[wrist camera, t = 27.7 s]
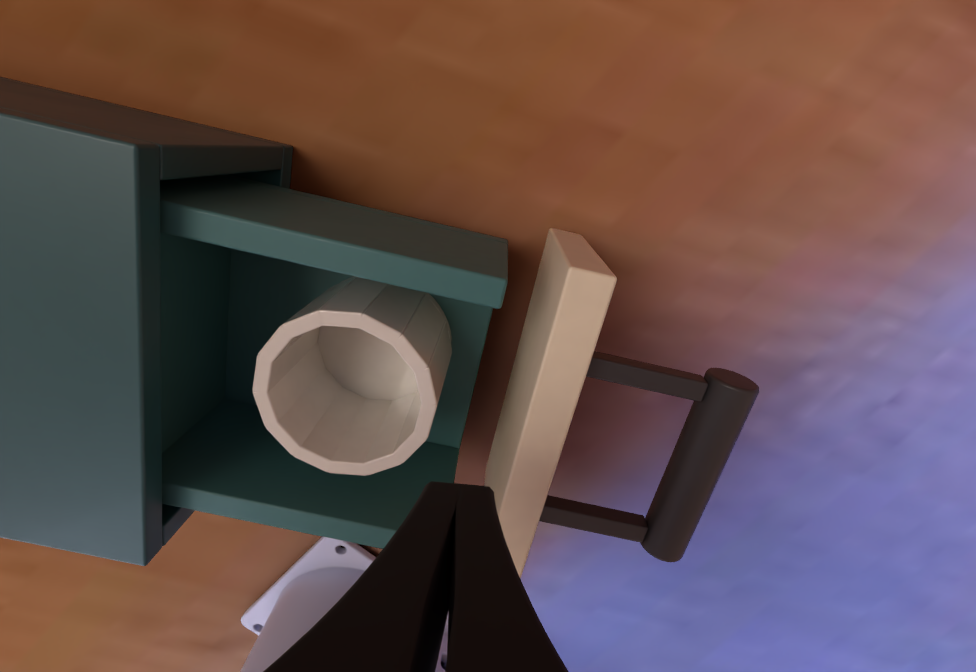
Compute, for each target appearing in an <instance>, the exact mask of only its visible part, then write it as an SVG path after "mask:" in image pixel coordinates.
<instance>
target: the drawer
mask: <svg viewBox="0 0 976 672" xmlns="http://www.w3.org/2000/svg"><path fill="white" fill-rule="evenodd" d="M351 276H355V277H359V278H364V279H368V280H373V281H377V282H381V283H386V284H390V285H395V286H399V287H403V288H408V289H412V290H417V291H421V292H425V293H429V294H430V295H431V296H432V297H433V298H434V299H435V300H436V302H437V303H438V304H439V305H440V307H441V309H442V310H443V312H444V314H445V316H446V318H447V320H448V323H449V327H450V330H451V336H452V355H451V359H450V362H449V366H448V369H447V373H446V377H445V380H444V384H443V387H442V391H441V394H440V398H439V402H438V405H437V409H436V412H435V416H434V419H433V422H432V426H431V429H430V433H429V436H428V438H427V440H426V441H425V442H424V443H423V444H422V445H421V446H420V447H419V448H418V449H417V450H416V451H415V452H414V453H413V454H412V455H411V456H410V457H409V458H408V459H407V460H406V461H405V462H404V463H402V464H401V465H398V466H395V467H392V468H389V469H386V470H383V471H380V472H377V473H374V474H371V475H366V476H362V475H348V474H335V473H329V472H325V471H323V470H321V469H319V468H317V467H314V466H312V465H310V464H308V463H306V462H304V461H302V460H300V459H297V458H295V457H294V456H293V455H291V454H290V453H289V452H288V451H287V450H286V449H285V448H284V447H283V446H282V445H281V444H280V443H279V442H278V441H277V440H276V438H275V437H274V436H273V435H272V434H271V433H270V432H269V431H268V430H267V429H266V427H265V426H264V423H263V421H262V418H261V415H260V412H259V410H258V407H257V404H256V401H255V398H254V396H253V391H252V388H253V381H254V374H255V366H256V359H257V355H258V353H259V351H260V350H261V349H262V348H263V346H264V345H265V344H266V343H267V341H268V340H269V339H270V338H271V336H272V335H273V334H274V333H275V331H276V330H277V329H278V328H279V326H280V325H282V324H283V323H284V322H286V321H287V320H288V319H289V318H291V317H292V316H293V315H295V314H296V313H297V312H299V311H300V310H301V309H302V308H304V307H305V306H306V305H308V304H309V303H310V302H311V301H313V300H314V299H315V298H317V297H318V296H319V295H320V294H322V293H323V292H324V291H326V290H327V289H328V288H330V287H331V286H333V285H336V284H338V283H339V282H341V281H343V280H344V279H347V278H349V277H351ZM160 281H161V426H162V504H167V505H172V506H177V507H182V508H186V509H191V510H196V511H201V512H206V513H211V514H216V515H220V516H225V517H230V518H235V519H240V520H245V521H250V522H254V523H259V524H264V525H269V526H274V527H279V528H284V529H288V530H293V531H298V532H303V533H308V534H313V535H318V536H323V537H327V538H332V539H337V540H342V541H347V542H352V543H357V544H361V545H366V546H371V547H376V548H381V549H383V548H384V547H385V546H386V544H387V543H388V542H389V540H390V539H391V538H392V536H393V535H394V534H395V532H396V531H397V530H398V528H399V527H400V526H401V524H402V523H403V521H404V520H405V518H406V517H407V515H408V514H409V512H410V511H411V509H412V508H413V506H414V505H415V503H416V501H417V500H418V498H419V496H420V495H421V493H422V491H423V489H424V487H425V485H427V484H428V483H429V482H431V481H434V482H445V483H454V479H455V473H456V467H457V461H458V455H459V449H460V445H461V441H462V436H463V432H464V428H465V424H466V420H467V416H468V411H469V407H470V403H471V399H472V395H473V391H474V386H475V382H476V378H477V374H478V370H479V365H480V361H481V357H482V353H483V349H484V345H485V340H486V336H487V332H488V328H489V324H490V319H491V315H492V311H493V308H496V309H500V308H501V307H502V304H503V300H504V295H505V291H506V287H507V283H508V240H506V239H503V238H498V237H494V236H490V235H486V234H481V233H477V232H473V231H468V230H464V229H460V228H456V227H451V226H447V225H443V224H438V223H434V222H430V221H425V220H421V219H417V218H413V217H408V216H404V215H400V214H395V213H391V212H387V211H383V210H378V209H374V208H370V207H365V206H361V205H357V204H352V203H348V202H344V201H340V200H335V199H331V198H327V197H322V196H318V195H314V194H310V193H305V192H301V191H297V190H292V189H288V188H284V187H279V186H275V185H271V184H267V183H262V182H258V181H254V180H249V179H245V178H241V177H237V176H232V175H228V174H226V175H215V176H204V177H193V178H183V179H172V180H161V181H160ZM616 282H617V277H616V276H615V275H614V273H613V272H612V271H611V270H610V269H609V267H608V266H607V265H606V264H605V263H604V261H603V260H602V259H601V258H600V257H599V255H598V254H597V253H596V252H595V251H594V249H593V248H592V247H591V246H590V245H589V243H588V242H587V241H586V240H585V239H584V237H583V236H582V235H581V234H576V233H572V232H568V231H564V230H559V229H555V228H550V229H549V232H548V236H547V239H546V243H545V247H544V251H543V254H542V258H541V262H540V266H539V270H538V273H537V277H536V281H535V285H534V288H533V292H532V296H531V300H530V304H529V307H528V311H527V315H526V319H525V322H524V326H523V330H522V334H521V337H520V341H519V345H518V349H517V353H516V356H515V360H514V364H513V368H512V371H511V375H510V379H509V383H508V386H507V390H506V394H505V398H504V402H503V405H502V409H501V413H500V417H499V420H498V424H497V428H496V432H495V435H494V439H493V443H492V447H491V451H490V454H489V458H488V462H487V466H486V470H485V483H484V486H489V487H490V488H491V489H492V490H493V491H494V497H495V504H496V509H497V513H498V517H499V521H500V524H501V528H502V531H503V534H504V537H505V540H506V543H507V546H508V549H509V551H510V554H511V557H512V559H513V562H514V565H515V567H516V570H517V572H518V575H519V577H520V578H521V575H522V572H523V569H524V566H525V563H526V560H527V556H528V553H529V550H530V547H531V544H532V541H533V538H534V535H535V532H536V529H537V526H538V523H539V521H542V522H546V523H551V524H556V525H561V526H565V527H570V528H575V529H580V530H584V531H589V532H594V533H599V534H603V535H608V536H613V537H618V538H622V539H627V540H632V541H637V542H640V543H641V545H642V547H643V548H644V549H645V550H646V551H647V552H648V553H649V554H651V555H652V556H654V557H655V558H657V559H660V560H662V561H666V562H676V561H678V560H680V559H681V558H682V556H683V554H684V552H685V550H686V548H687V546H688V544H689V541H690V539H691V537H692V535H693V533H694V531H695V529H696V526H697V524H698V522H699V520H700V518H701V516H702V513H703V511H704V509H705V507H706V505H707V503H708V501H709V498H710V496H711V494H712V492H713V490H714V488H715V485H716V483H717V481H718V479H719V477H720V475H721V473H722V470H723V468H724V466H725V464H726V462H727V460H728V458H729V455H730V453H731V451H732V449H733V447H734V445H735V442H736V440H737V438H738V436H739V434H740V432H741V430H742V427H743V425H744V423H745V421H746V419H747V417H748V414H749V412H750V410H751V408H752V406H753V404H754V402H755V399H756V397H757V395H758V393H759V387H758V386H757V385H756V384H755V383H754V382H753V381H751V380H750V379H748V378H746V377H745V376H742V375H740V374H738V373H735V372H733V371H729V370H726V369H721V368H710V369H708V370H707V371H706V373H705V376H704V378H703V376H701V375H698V374H693V373H689V372H684V371H680V370H676V369H671V368H667V367H662V366H658V365H653V364H649V363H644V362H640V361H636V360H631V359H627V358H622V357H618V356H613V355H609V354H605V353H600V352H596V351H594V350H595V347H596V344H597V341H598V337H599V334H600V331H601V328H602V325H603V322H604V319H605V316H606V313H607V310H608V307H609V304H610V300H611V297H612V294H613V291H614V288H615V285H616ZM586 376H587V377H592V378H596V379H601V380H605V381H610V382H614V383H619V384H623V385H628V386H632V387H637V388H641V389H645V390H650V391H654V392H659V393H663V394H668V395H672V396H677V397H681V398H686V399H690V400H694V402H693V405H692V407H691V409H690V412H689V414H688V417H687V419H686V421H685V424H684V426H683V429H682V431H681V433H680V436H679V438H678V441H677V443H676V445H675V448H674V450H673V453H672V455H671V457H670V460H669V462H668V465H667V467H666V469H665V472H664V474H663V477H662V479H661V481H660V484H659V486H658V489H657V491H656V493H655V496H654V498H653V501H652V503H651V505H650V508H649V510H648V513H647V515H646V517H645V518H644V516H643V515H638V514H634V513H629V512H624V511H620V510H615V509H610V508H605V507H601V506H596V505H591V504H587V503H582V502H577V501H573V500H568V499H563V498H558V497H554V496H549V495H548V492H549V489H550V486H551V482H552V479H553V476H554V473H555V470H556V467H557V464H558V461H559V458H560V455H561V452H562V449H563V445H564V442H565V439H566V436H567V433H568V430H569V427H570V424H571V421H572V418H573V415H574V411H575V408H576V405H577V402H578V399H579V396H580V393H581V390H582V387H583V384H584V381H585V378H586Z"/></svg>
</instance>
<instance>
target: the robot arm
mask: <svg viewBox="0 0 976 672" xmlns="http://www.w3.org/2000/svg"><path fill="white" fill-rule="evenodd" d="M340 546H344V547H345V548H341V547H340ZM241 622H242V624H243V625H244V626H245V627H246V628H248V629H249V630H251V631H252V632H254V633H256V634H257V635H259V636H258V638H257V640H256V642H255V644H254V646H253V648H252V650H251V651H250V653H249V655H248V657H247V659H246V661H245V663H244V665H243V667H242V669H241V671H240V672H568V670H567V668H566V667H565V665H564V663H563V662H562V660H561V658H560V657H559V655H558V653H557V652H556V650H555V648H554V646H553V644H552V642H551V641H550V639H549V637H548V635H547V633H546V632H545V630H544V628H543V626H542V624H541V622H540V620H539V618H538V616H537V614H536V612H535V610H534V608H533V606H532V604H531V602H530V599H529V597H528V595H527V593H526V591H525V589H524V586H523V584H522V582H521V579H520V577H519V575H518V572H517V570H516V567H515V565H514V562H513V559H512V557H511V554H510V551H509V549H508V546H507V543H506V540H505V537H504V534H503V531H502V528H501V524H500V521H499V517H498V513H497V509H496V504H495V497H494V491H493V490H492V489H491V488H490V487H489V486H478V485H467V484H456V483H445V482H434V481H431V482H429V483H428V484H427V485H425V487H424V489H423V491H422V493H421V495H420V496H419V498H418V500H417V501H416V503H415V505H414V506H413V508H412V509H411V511H410V512H409V514H408V515H407V517H406V518H405V520H404V521H403V523H402V524H401V526H400V527H399V528H398V530H397V531H396V532H395V534H394V535H393V536H392V538H391V539H390V540H389V542H388V543H387V544H386V546H385V547H384V548H383V550H382V551H381V552H380V554H379V555H378V556H377V557H375V556H373V555H372V554H371V553H369V552H368V551H366V550H365V549H364V548H362V547H361V546H359V545H358V544H357V543H352V542H347V541H342V540H337V539H332V538H327V537H323V536H322V537H321V538H320V539H319V540H318V541H317V542H316V543H315V544H314V545H313V546H312V547H311V548H310V549H309V550H308V551H307V552H306V553H305V554H304V555H303V556H302V557H301V558H300V559H299V560H298V561H296V562H295V563H294V564H293V565H292V566H291V567H290V568H289V569H288V570H287V571H286V572H285V573H284V574H283V575H282V576H281V577H280V578H279V579H278V580H277V581H276V582H275V583H274V584H273V585H272V586H271V587H270V588H269V589H268V590H267V591H266V592H265V593H264V594H263V595H261V596H260V597H259V598H258V599H257V600H256V601H255V602H254V603H253V604H252V605H251V606H250V607H249V608H248V609H247V610H246V611H245V613H244V614H243V616H242V618H241Z"/></svg>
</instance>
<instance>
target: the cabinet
mask: <svg viewBox="0 0 976 672" xmlns="http://www.w3.org/2000/svg"><path fill="white" fill-rule="evenodd" d="M292 153H293V146H291V145H287V144H283V143H278V142H274V141H270V140H266V139H262V138H257V137H253V136H249V135H245V134H240V133H236V132H232V131H228V130H223V129H219V128H215V127H211V126H207V125H202V124H198V123H194V122H190V121H185V120H181V119H177V118H173V117H168V116H164V115H160V114H156V113H152V112H147V111H143V110H139V109H135V108H130V107H126V106H122V105H118V104H113V103H109V102H105V101H101V100H97V99H92V98H88V97H84V96H80V95H75V94H71V93H67V92H63V91H58V90H54V89H50V88H46V87H42V86H37V85H33V84H29V83H25V82H20V81H16V80H12V79H8V78H3V77H0V537H2V538H7V539H12V540H17V541H22V542H27V543H32V544H37V545H42V546H47V547H52V548H57V549H62V550H67V551H72V552H77V553H81V554H86V555H91V556H96V557H101V558H106V559H111V560H116V561H121V562H126V563H131V564H136V565H141V566H146V565H147V564H148V563H149V562H150V561H151V559H152V558H153V557H154V556H155V555H156V554H157V553H158V551H159V550H160V549H161V548H162V546H164V545H165V544H166V543H167V542H168V541H169V540H170V538H171V537H172V536H173V535H174V534H175V533H176V531H177V530H178V529H179V528H180V527H181V526H182V525H183V523H184V522H185V521H186V520H187V519H188V518H189V516H190V515H191V514H192V513H193V512H194V511H195V510H191V509H186V508H182V507H177V506H172V505H167V504H162V426H161V281H160V181H161V180H172V179H183V178H193V177H204V176H215V175H226V174H228V175H232V176H237V177H241V178H245V179H249V180H254V181H258V182H262V183H267V184H271V185H275V186H279V187H284V188H288V189H290V178H291V165H292Z"/></svg>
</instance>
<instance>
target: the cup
mask: <svg viewBox="0 0 976 672" xmlns="http://www.w3.org/2000/svg"><path fill="white" fill-rule="evenodd" d="M451 355H452V336H451V330H450V327H449V323H448V320H447V318H446V316H445V314H444V312H443V310H442V309H441V307H440V305H439V304H438V303H437V302H436V300H435V299H434V298H433V297H432V296H431V295H430V294H429V293H425V292H421V291H417V290H412V289H408V288H403V287H399V286H395V285H390V284H386V283H381V282H377V281H373V280H368V279H364V278H359V277H355V276H351V277H349V278H347V279H344V280H343V281H341V282H339V283H338V284H336V285H333V286H331V287H330V288H328V289H327V290H326V291H324V292H323V293H322V294H320V295H319V296H318V297H317V298H315V299H314V300H313V301H311V302H310V303H309V304H308V305H306V306H305V307H304V308H302V309H301V310H300V311H299V312H297V313H296V314H295V315H293V316H292V317H291V318H289V319H288V320H287V321H286V322H284V323H283V324H282V325H280V326H279V328H278V329H277V330H276V331H275V333H274V334H273V335H272V336H271V338H270V339H269V340H268V341H267V343H266V344H265V345H264V346H263V348H262V349H261V350H260V351H259V353H258V355H257V359H256V366H255V374H254V381H253V388H252V391H253V396H254V398H255V401H256V404H257V407H258V410H259V412H260V415H261V418H262V421H263V423H264V426H265V427H266V429H267V430H268V431H269V432H270V433H271V434H272V435H273V436H274V437H275V438H276V440H277V441H278V442H279V443H280V444H281V445H282V446H283V447H284V448H285V449H286V450H287V451H288V452H289V453H290V454H291V455H293V456H294V457H295V458H297V459H300V460H302V461H304V462H306V463H308V464H310V465H312V466H314V467H317V468H319V469H321V470H323V471H325V472H329V473H335V474H348V475H362V476H366V475H371V474H374V473H377V472H380V471H383V470H386V469H389V468H392V467H395V466H398V465H401V464H402V463H404V462H405V461H406V460H407V459H408V458H409V457H410V456H411V455H412V454H413V453H414V452H415V451H416V450H417V449H418V448H419V447H420V446H421V445H422V444H423V443H424V442H425V441H426V440H427V438H428V436H429V433H430V429H431V426H432V422H433V419H434V416H435V412H436V409H437V405H438V402H439V398H440V394H441V391H442V387H443V384H444V380H445V377H446V373H447V369H448V366H449V362H450V359H451Z"/></svg>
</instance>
